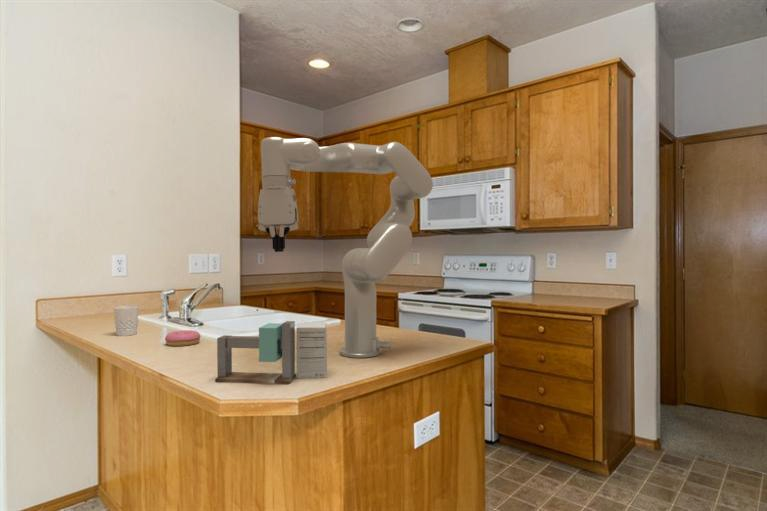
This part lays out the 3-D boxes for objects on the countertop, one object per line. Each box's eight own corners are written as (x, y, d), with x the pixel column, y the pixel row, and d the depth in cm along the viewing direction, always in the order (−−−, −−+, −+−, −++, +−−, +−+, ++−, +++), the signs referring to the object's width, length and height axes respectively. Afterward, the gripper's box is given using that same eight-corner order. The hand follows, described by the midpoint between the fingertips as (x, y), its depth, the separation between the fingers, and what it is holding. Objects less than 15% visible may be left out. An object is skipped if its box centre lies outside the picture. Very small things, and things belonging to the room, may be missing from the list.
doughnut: (171, 349, 149) (171, 336, 149) (160, 343, 157) (160, 331, 157) (205, 344, 156) (205, 331, 156) (193, 339, 164) (193, 327, 164)
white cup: (143, 333, 174) (142, 306, 174) (121, 337, 167) (121, 309, 167) (131, 331, 178) (130, 305, 178) (109, 335, 172) (109, 307, 171)
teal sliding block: (284, 355, 116) (284, 323, 116) (275, 362, 110) (275, 328, 110) (268, 355, 117) (268, 323, 117) (259, 361, 110) (258, 327, 110)
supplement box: (298, 370, 122) (298, 322, 122) (327, 370, 123) (327, 321, 123) (296, 378, 115) (295, 327, 115) (326, 378, 116) (326, 326, 115)
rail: (294, 378, 115) (294, 321, 115) (290, 382, 111) (290, 323, 111) (224, 376, 117) (223, 320, 117) (217, 380, 113) (217, 322, 113)
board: (296, 376, 116) (296, 373, 116) (288, 384, 110) (288, 380, 110) (226, 375, 118) (226, 371, 118) (215, 381, 112) (215, 378, 112)
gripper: (306, 184, 131) (309, 250, 132) (254, 186, 132) (256, 252, 133) (300, 181, 124) (302, 251, 124) (244, 183, 125) (247, 252, 125)
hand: (279, 251), depth 129 cm, fingers closed
